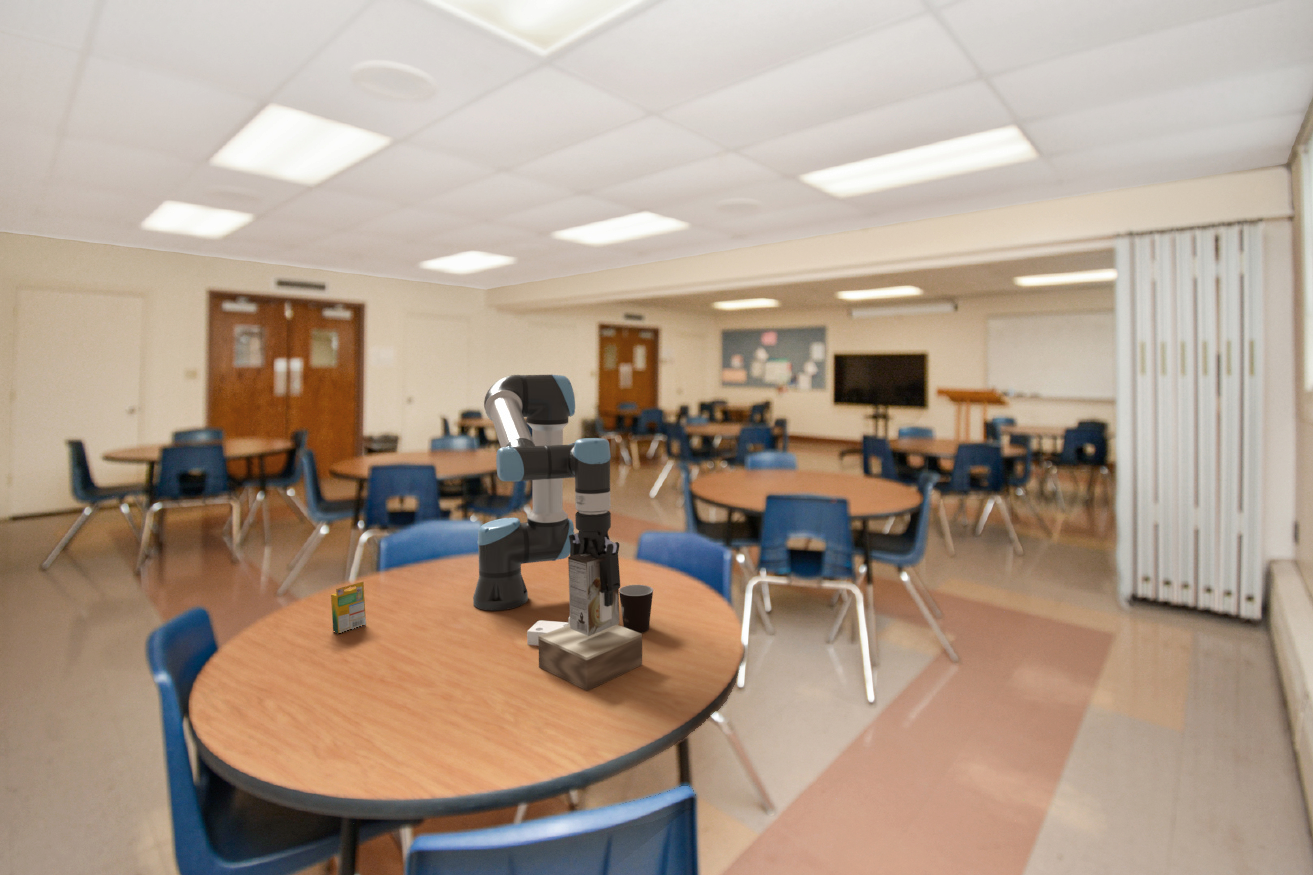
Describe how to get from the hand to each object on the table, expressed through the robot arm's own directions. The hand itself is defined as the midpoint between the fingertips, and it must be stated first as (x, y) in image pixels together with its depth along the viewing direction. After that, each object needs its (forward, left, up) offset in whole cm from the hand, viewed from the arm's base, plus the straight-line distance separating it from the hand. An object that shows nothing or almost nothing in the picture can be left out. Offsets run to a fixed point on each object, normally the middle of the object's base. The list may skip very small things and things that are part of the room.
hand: (594, 615), depth 134 cm
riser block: (-2, 0, -12) cm, 12 cm away
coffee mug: (-10, +23, -12) cm, 28 cm away
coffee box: (0, 0, -3) cm, 3 cm away
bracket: (-18, +4, -12) cm, 22 cm away
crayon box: (-64, -27, -12) cm, 70 cm away
